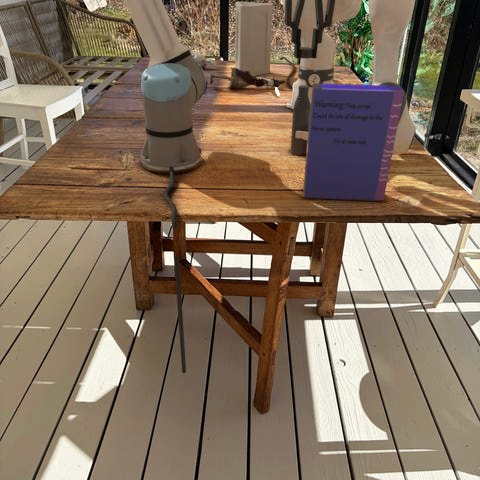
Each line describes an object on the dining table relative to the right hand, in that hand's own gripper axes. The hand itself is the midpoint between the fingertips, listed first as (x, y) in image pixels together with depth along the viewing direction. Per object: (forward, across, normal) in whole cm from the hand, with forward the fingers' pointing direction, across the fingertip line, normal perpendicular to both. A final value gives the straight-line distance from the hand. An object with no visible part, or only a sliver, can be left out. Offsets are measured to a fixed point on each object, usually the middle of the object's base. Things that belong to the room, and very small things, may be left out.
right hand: (297, 130), depth 128 cm
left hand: (-1, 0, -19) cm, 19 cm away
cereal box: (-14, +25, +6) cm, 29 cm away
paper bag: (+31, -96, +6) cm, 101 cm away
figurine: (+27, -67, +6) cm, 73 cm away
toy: (+64, -99, +6) cm, 118 cm away
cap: (-1, 0, -20) cm, 21 cm away
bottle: (-1, 0, +6) cm, 6 cm away
